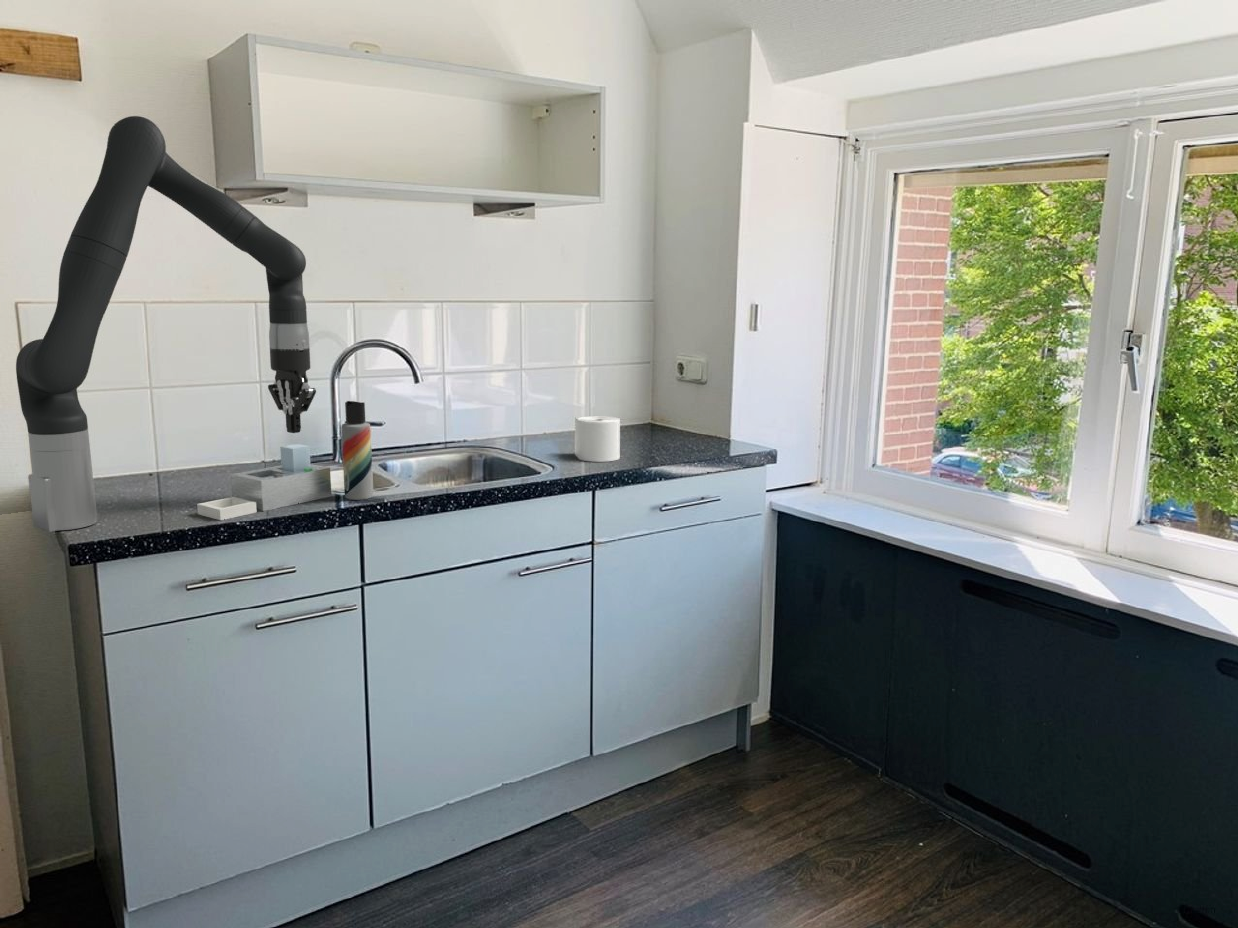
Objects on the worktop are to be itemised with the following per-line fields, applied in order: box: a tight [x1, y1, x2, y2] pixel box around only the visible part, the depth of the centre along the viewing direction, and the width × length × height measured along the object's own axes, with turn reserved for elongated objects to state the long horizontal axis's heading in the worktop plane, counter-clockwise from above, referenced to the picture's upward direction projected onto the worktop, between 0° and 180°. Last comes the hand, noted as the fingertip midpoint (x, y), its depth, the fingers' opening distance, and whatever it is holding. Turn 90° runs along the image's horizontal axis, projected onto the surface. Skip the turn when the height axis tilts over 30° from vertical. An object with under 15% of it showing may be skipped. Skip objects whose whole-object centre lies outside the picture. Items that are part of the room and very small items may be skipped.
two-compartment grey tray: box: [230, 463, 332, 512], centre depth 191 cm, size 16×10×6 cm, turn 145°
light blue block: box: [280, 443, 311, 472], centre depth 193 cm, size 4×4×9 cm
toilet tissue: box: [574, 415, 621, 463], centre depth 237 cm, size 11×12×10 cm
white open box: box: [196, 496, 258, 521], centre depth 180 cm, size 8×8×2 cm
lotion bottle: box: [340, 400, 374, 501], centre depth 193 cm, size 6×6×20 cm
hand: (293, 432), depth 191 cm, fingers closed
